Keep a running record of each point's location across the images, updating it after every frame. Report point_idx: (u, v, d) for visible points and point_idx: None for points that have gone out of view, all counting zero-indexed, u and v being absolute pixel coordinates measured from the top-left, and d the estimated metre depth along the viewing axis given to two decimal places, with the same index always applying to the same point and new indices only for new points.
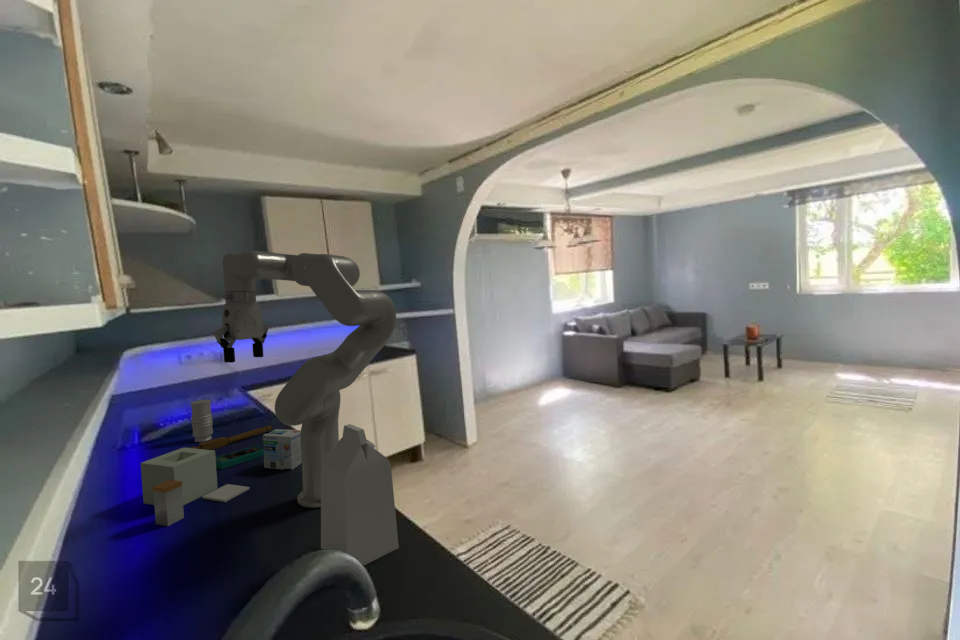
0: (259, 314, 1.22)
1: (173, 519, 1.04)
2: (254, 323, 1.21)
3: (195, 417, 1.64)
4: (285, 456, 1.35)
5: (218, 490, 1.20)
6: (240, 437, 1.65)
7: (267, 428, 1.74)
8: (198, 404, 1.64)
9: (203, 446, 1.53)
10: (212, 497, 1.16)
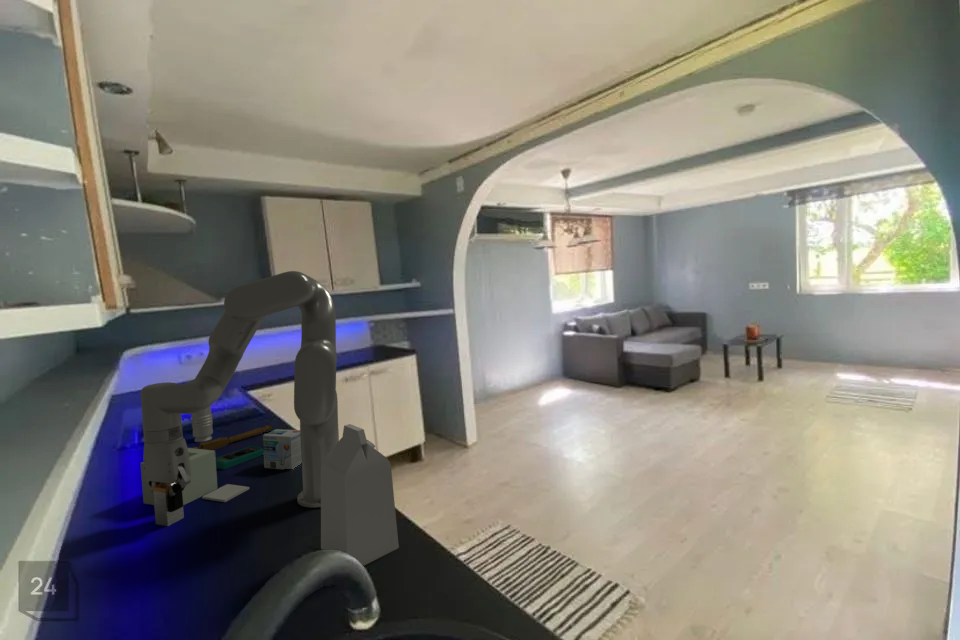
0: None
1: (173, 519, 1.04)
2: None
3: (195, 417, 1.64)
4: (285, 456, 1.35)
5: (218, 490, 1.20)
6: (240, 437, 1.65)
7: (267, 428, 1.74)
8: None
9: (204, 446, 1.53)
10: (212, 497, 1.16)
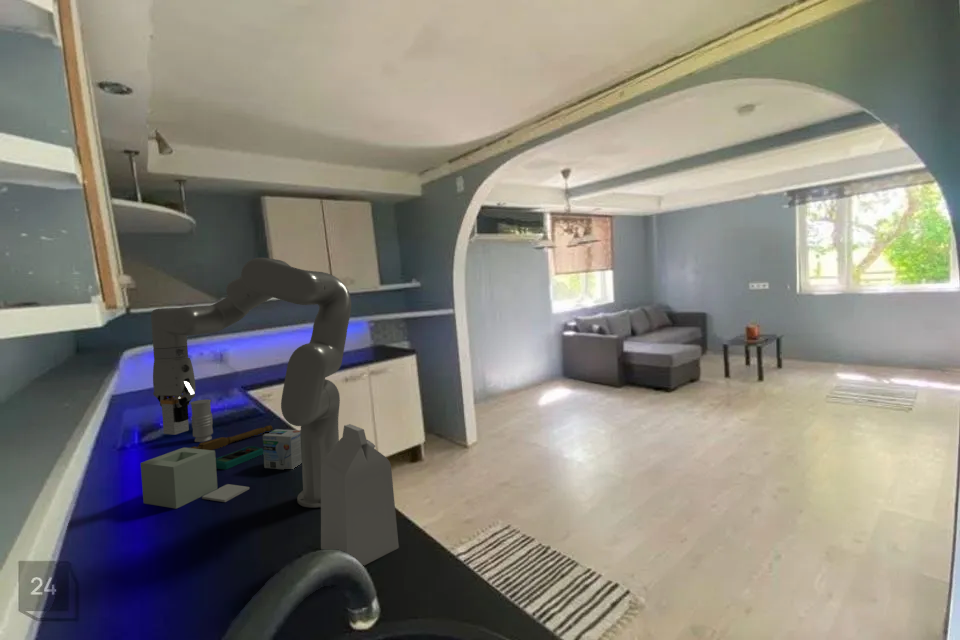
0: None
1: (180, 429, 1.16)
2: None
3: (195, 417, 1.64)
4: (285, 456, 1.35)
5: (218, 490, 1.20)
6: (240, 437, 1.65)
7: (267, 428, 1.74)
8: (198, 404, 1.64)
9: (203, 446, 1.53)
10: (212, 497, 1.16)
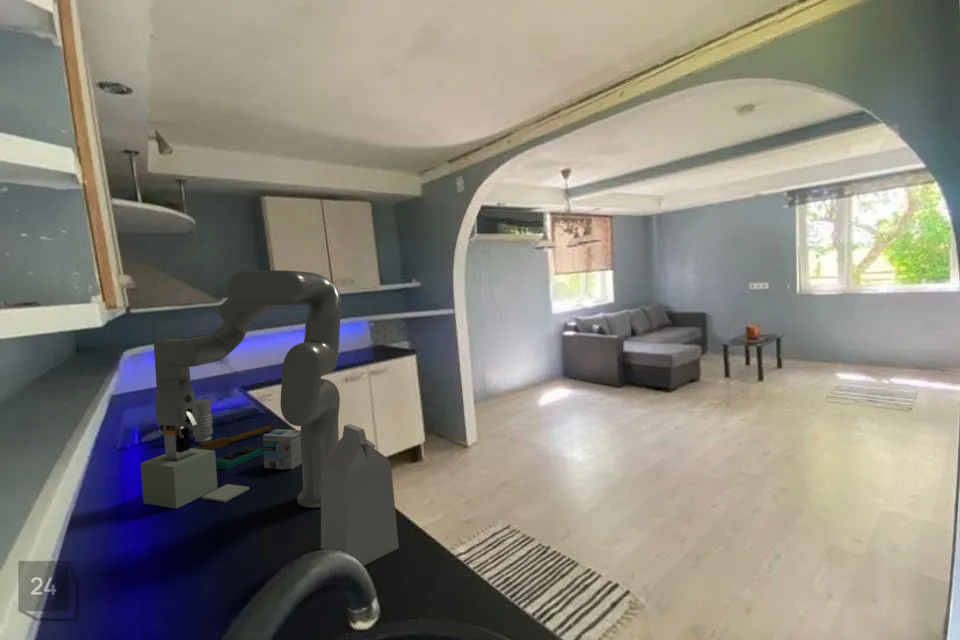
0: None
1: (182, 459, 1.17)
2: None
3: None
4: (285, 456, 1.35)
5: (218, 490, 1.20)
6: (241, 437, 1.65)
7: (267, 428, 1.74)
8: (198, 404, 1.64)
9: (204, 446, 1.53)
10: (212, 497, 1.16)
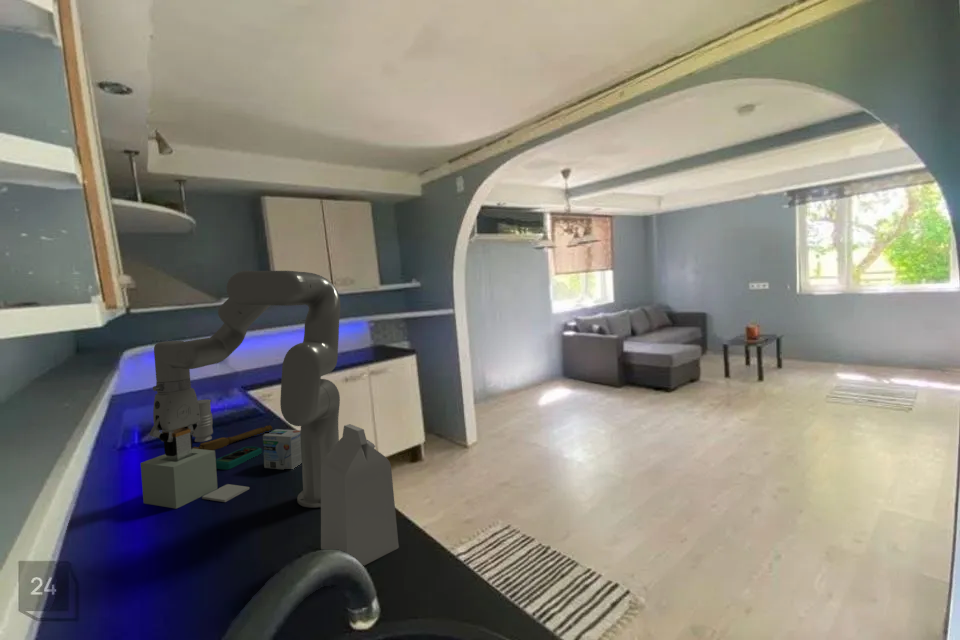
0: (194, 400, 1.20)
1: None
2: (188, 411, 1.18)
3: None
4: (285, 456, 1.35)
5: (218, 490, 1.20)
6: (241, 437, 1.64)
7: (267, 428, 1.74)
8: (198, 404, 1.64)
9: (205, 446, 1.53)
10: (212, 497, 1.16)
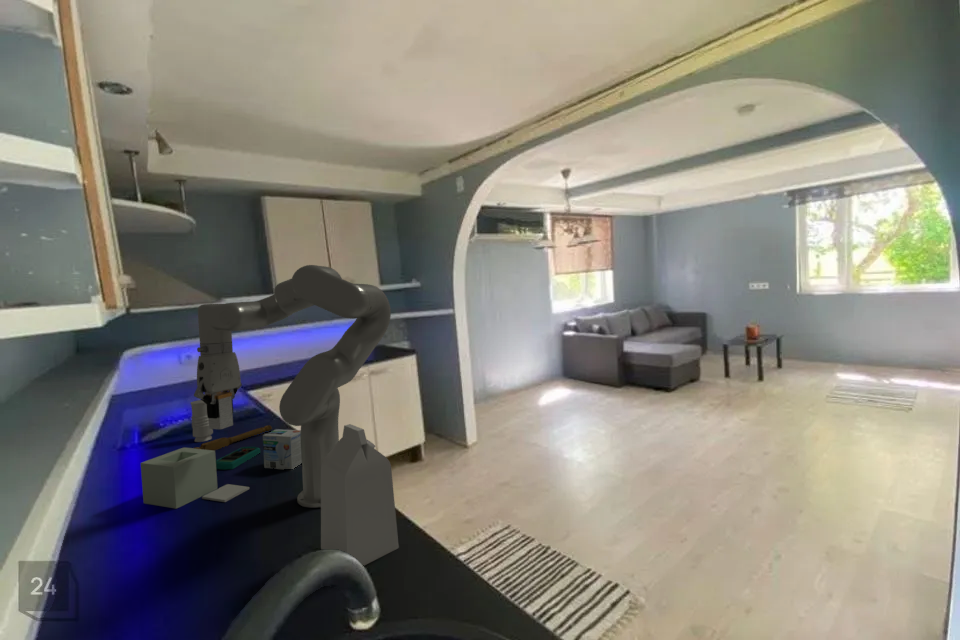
0: (236, 364, 1.20)
1: (213, 425, 1.16)
2: (230, 374, 1.18)
3: (195, 417, 1.64)
4: (285, 456, 1.35)
5: (218, 490, 1.20)
6: (241, 437, 1.64)
7: (267, 428, 1.74)
8: (198, 404, 1.64)
9: (206, 446, 1.53)
10: (212, 497, 1.16)
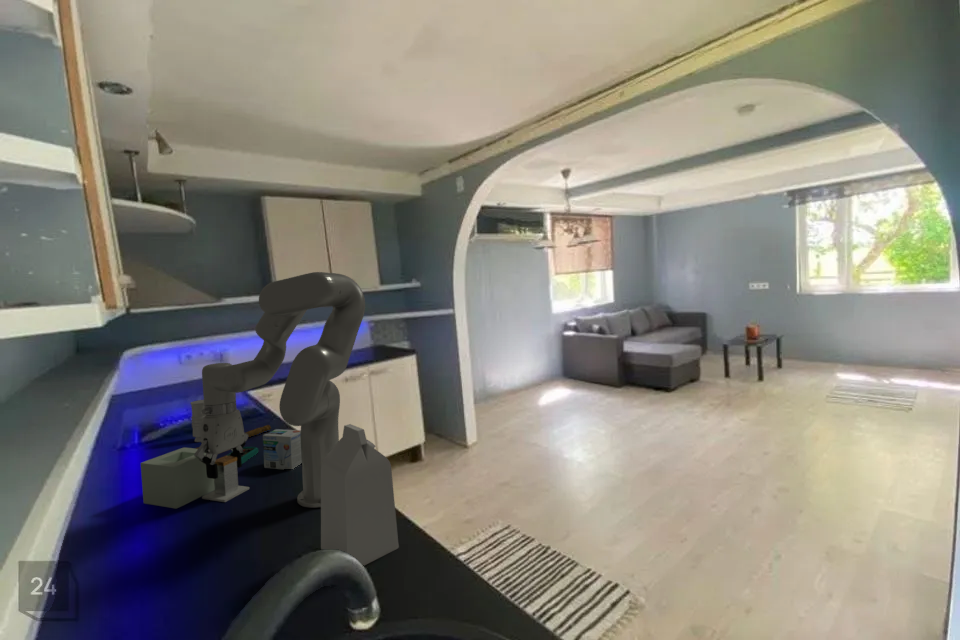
0: (240, 422, 1.21)
1: (218, 491, 1.17)
2: (234, 433, 1.19)
3: (195, 417, 1.64)
4: (285, 456, 1.35)
5: None
6: None
7: (266, 427, 1.74)
8: (198, 404, 1.64)
9: None
10: (212, 497, 1.16)
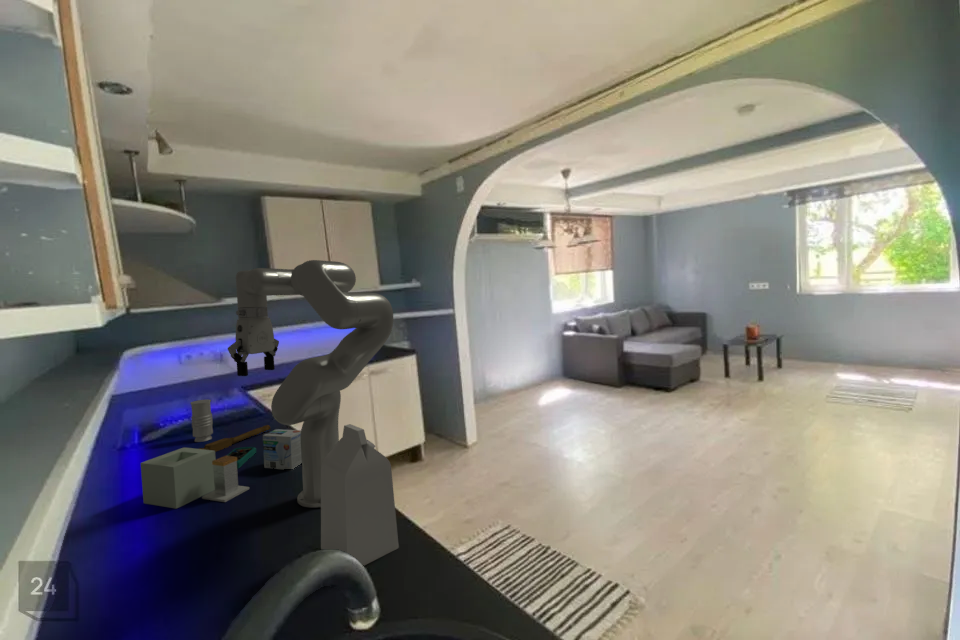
0: (270, 328, 1.27)
1: (218, 491, 1.17)
2: (266, 337, 1.25)
3: (195, 417, 1.64)
4: (285, 456, 1.35)
5: None
6: (243, 437, 1.64)
7: (266, 427, 1.74)
8: (198, 404, 1.64)
9: (211, 447, 1.52)
10: (212, 497, 1.16)
